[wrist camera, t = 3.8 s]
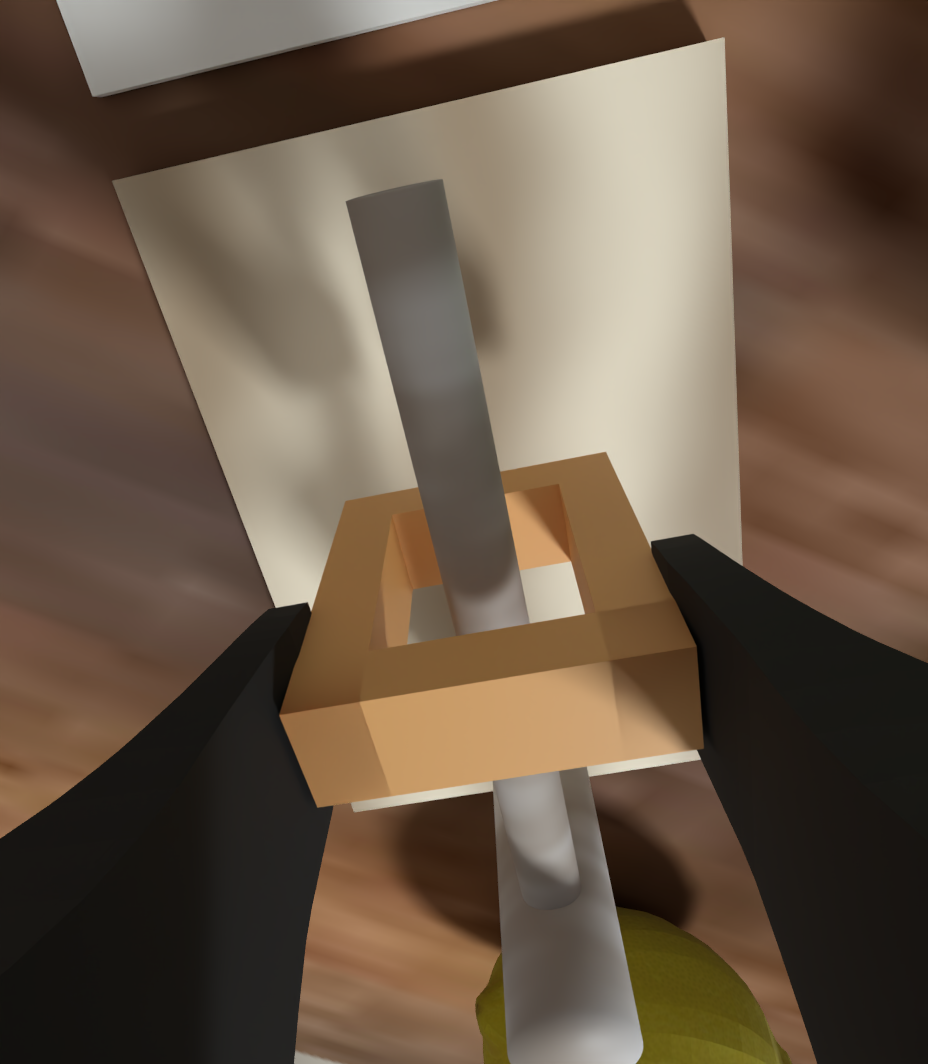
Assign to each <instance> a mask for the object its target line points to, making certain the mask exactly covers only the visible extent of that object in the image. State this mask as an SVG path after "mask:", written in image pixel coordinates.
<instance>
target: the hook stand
mask: <svg viewBox="0 0 928 1064" xmlns="http://www.w3.org/2000/svg"><path fill="white" fill-rule="evenodd" d="M112 183H113V185H114V188H115V190H116V193H117V196H118V198H119V201H120V203H121V206H122V209H123V211H124V214H125V216H126V219H127V222H128V224H129V227H130V229H131V232H132V235H133V237H134V240H135V242H136V245H137V248H138V250H139V253H140V256H141V258H142V261H143V263H144V266H145V269H146V271H147V274H148V276H149V279H150V282H151V284H152V287H153V289H154V292H155V295H156V297H157V300H158V302H159V305H160V308H161V310H162V313H163V315H164V318H165V321H166V323H167V326H168V328H169V331H170V334H171V336H172V339H173V341H174V344H175V347H176V349H177V352H178V354H179V357H180V360H181V362H182V365H183V367H184V370H185V373H186V375H187V378H188V381H189V383H190V386H191V388H192V391H193V394H194V396H195V399H196V401H197V404H198V407H199V409H200V412H201V414H202V417H203V420H204V422H205V425H206V427H207V430H208V433H209V435H210V438H211V440H212V443H213V446H214V448H215V451H216V453H217V456H218V459H219V461H220V464H221V466H222V469H223V472H224V474H225V477H226V479H227V482H228V485H229V487H230V490H231V492H232V495H233V498H234V500H235V503H236V505H237V508H238V511H239V513H240V516H241V519H242V521H243V524H244V526H245V529H246V532H247V534H248V537H249V539H250V542H251V545H252V547H253V550H254V552H255V555H256V558H257V560H258V563H259V565H260V568H261V571H262V573H263V576H264V578H265V581H266V584H267V586H268V589H269V591H270V594H271V597H272V599H273V602H274V604H275V607H276V608H278V607H283V606H289V605H295V604H300V603H306V602H308V604H309V607H310V610H311V611H312V607H313V604H314V601H315V598H316V594H317V591H318V588H319V585H320V581H321V578H322V575H323V572H324V569H325V565H326V562H327V559H328V556H329V552H330V549H331V546H332V543H333V539H334V536H335V533H336V530H337V526H338V523H339V520H340V517H341V513H342V510H343V507H344V504H345V501H348V500H353V499H358V498H364V497H369V496H374V495H379V494H385V493H390V492H395V491H401V490H406V489H411V488H416V487H418V488H419V492H420V496H421V500H422V504H423V508H424V512H425V516H426V520H427V524H428V527H429V531H430V535H431V539H432V543H433V547H434V551H435V555H436V559H437V563H438V567H439V571H440V575H441V579H442V582H443V584H440V585H435V586H429V587H423V588H418V589H413V592H412V602H411V612H410V622H409V632H408V642H407V644H413V643H419V642H425V641H430V640H436V639H442V638H448V637H454V636H460V635H466V634H471V633H477V632H483V631H489V630H495V629H501V628H507V627H512V626H518V625H524V624H530V623H536V622H542V621H548V620H553V619H559V618H565V617H571V616H577V615H583V614H585V612H584V608H583V605H582V601H581V597H580V593H579V589H578V586H577V582H576V578H575V574H574V571H573V567H572V563H571V561H570V562H565V563H559V564H553V565H548V566H542V567H536V568H531V569H525V570H519V565H518V560H517V555H516V550H515V545H514V540H513V535H512V530H511V525H510V519H509V514H508V509H507V504H506V499H505V494H504V489H503V484H502V479H501V474H500V472H501V471H506V470H512V469H517V468H522V467H527V466H533V465H538V464H543V463H548V462H554V461H559V460H564V459H570V458H575V457H580V456H585V455H591V454H596V453H601V452H606V453H607V455H608V457H609V459H610V462H611V464H612V466H613V468H614V470H615V472H616V474H617V477H618V479H619V481H620V483H621V485H622V487H623V489H624V492H625V494H626V496H627V498H628V500H629V502H630V504H631V507H632V509H633V511H634V513H635V515H636V517H637V519H638V522H639V524H640V526H641V528H642V530H643V532H644V535H645V537H646V539H647V541H648V543H649V545H650V547H651V541H655V540H660V539H666V538H672V537H677V536H683V535H689V534H695V535H697V536H698V537H700V538H701V539H703V540H704V541H706V542H707V543H709V544H710V545H712V546H713V547H715V548H716V549H718V550H719V551H721V552H722V553H724V554H725V555H727V556H728V557H730V558H731V559H733V560H734V561H736V562H737V563H739V564H740V565H742V537H741V508H740V479H739V449H738V420H737V391H736V362H735V333H734V303H733V274H732V245H731V216H730V186H729V157H728V128H727V99H726V70H725V40H724V38H719V39H715V40H711V41H707V42H702V43H698V44H694V45H689V46H685V47H681V48H677V49H672V50H668V51H664V52H660V53H655V54H651V55H647V56H643V57H638V58H634V59H630V60H625V61H621V62H617V63H613V64H608V65H604V66H600V67H596V68H591V69H587V70H583V71H579V72H574V73H570V74H566V75H561V76H557V77H553V78H549V79H544V80H540V81H536V82H532V83H527V84H523V85H519V86H515V87H510V88H506V89H502V90H498V91H493V92H489V93H485V94H480V95H476V96H472V97H468V98H463V99H459V100H455V101H451V102H446V103H442V104H438V105H434V106H429V107H425V108H421V109H416V110H412V111H408V112H404V113H399V114H395V115H391V116H387V117H382V118H378V119H374V120H370V121H365V122H361V123H357V124H353V125H348V126H344V127H340V128H335V129H331V130H327V131H323V132H318V133H314V134H310V135H306V136H301V137H297V138H293V139H289V140H284V141H280V142H276V143H271V144H267V145H263V146H259V147H254V148H250V149H246V150H242V151H237V152H233V153H229V154H225V155H220V156H216V157H212V158H207V159H203V160H199V161H195V162H190V163H186V164H182V165H178V166H173V167H169V168H165V169H161V170H156V171H152V172H148V173H144V174H139V175H135V176H131V177H126V178H122V179H118V180H114V181H112ZM694 760H701V758H700V756H699V754H698V751H697V750H692V751H685V752H679V753H672V754H666V755H659V756H652V757H646V758H639V759H633V760H626V761H620V762H613V763H607V764H600V765H594V766H587V767H580V768H574V769H567V770H561V771H554V772H548V773H541V774H535V775H528V776H522V777H515V778H509V779H502V780H495V781H489V782H482V783H476V784H469V785H463V786H456V787H450V788H443V789H437V790H430V791H423V792H417V793H410V794H404V795H397V796H391V797H384V798H378V799H371V800H365V801H358V802H352V803H351V805H352V808H353V810H354V812H359V811H365V810H372V809H379V808H385V807H392V806H398V805H405V804H411V803H418V802H425V801H431V800H438V799H444V798H451V797H457V796H464V795H471V794H477V793H484V792H490V791H493V796H494V814H495V833H496V852H497V870H498V889H499V907H500V926H501V945H502V963H503V982H504V1000H505V1019H506V1037H507V1054H508V1059H509V1061H510V1063H511V1064H636V1063H637V1061H638V1060H639V1058H640V1057H641V1054H642V1052H643V1039H642V1035H641V1030H640V1025H639V1020H638V1015H637V1010H636V1005H635V1000H634V995H633V990H632V985H631V981H630V976H629V971H628V966H627V961H626V956H625V951H624V946H623V941H622V936H621V932H620V927H619V922H618V917H617V912H616V907H615V902H614V897H613V892H612V887H611V883H610V878H609V873H608V868H607V863H606V858H605V853H604V848H603V843H602V838H601V834H600V829H599V824H598V819H597V814H596V809H595V804H594V799H593V794H592V789H591V785H590V780H589V776H596V775H602V774H609V773H615V772H622V771H629V770H635V769H642V768H648V767H655V766H661V765H668V764H675V763H681V762H688V761H694Z"/></svg>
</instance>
